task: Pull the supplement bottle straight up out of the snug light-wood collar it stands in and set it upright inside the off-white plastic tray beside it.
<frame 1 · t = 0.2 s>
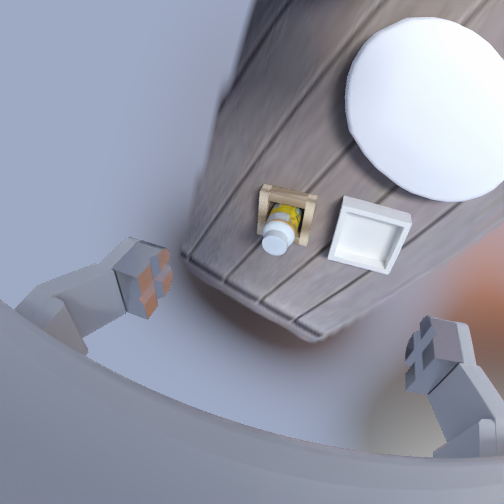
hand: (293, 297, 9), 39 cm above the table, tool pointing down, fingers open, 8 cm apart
collar: (287, 211, 55), on the table
plate: (438, 107, 34), on the table
tray: (368, 232, 52), on the table
supplement bottle: (287, 211, 55), resting in collar
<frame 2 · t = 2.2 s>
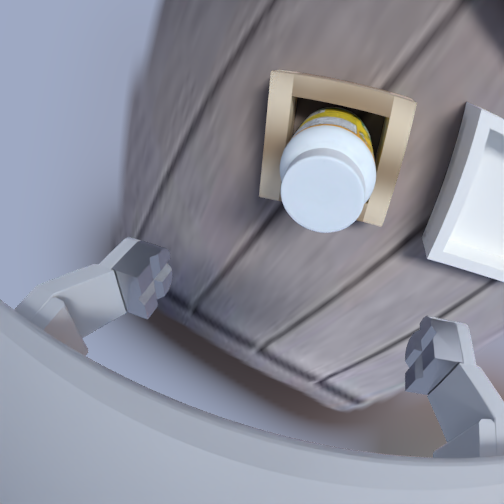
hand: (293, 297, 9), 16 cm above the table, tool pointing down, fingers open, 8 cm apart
collar: (335, 141, 21), on the table
tray: (503, 197, 18), on the table
supplement bottle: (335, 140, 21), resting in collar
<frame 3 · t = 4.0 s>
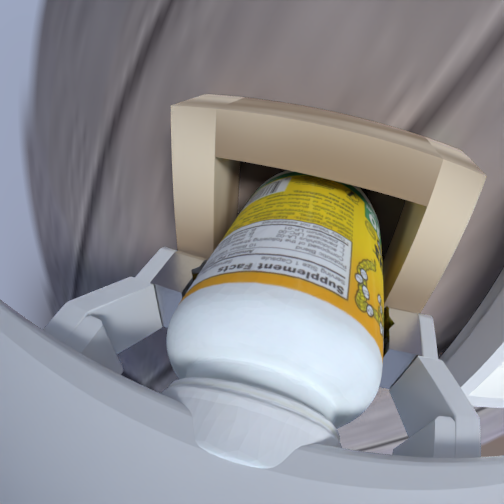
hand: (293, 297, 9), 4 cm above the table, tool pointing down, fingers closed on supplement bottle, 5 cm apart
collar: (313, 227, 12), on the table
supplement bottle: (314, 225, 12), resting in collar, touching gripper
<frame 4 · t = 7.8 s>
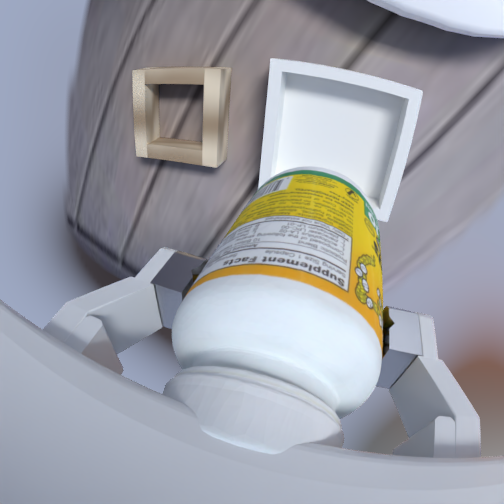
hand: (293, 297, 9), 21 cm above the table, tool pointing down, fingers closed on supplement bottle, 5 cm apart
collar: (185, 110, 28), on the table
tray: (337, 133, 25), on the table
supplement bottle: (314, 223, 13), point 16 cm above the table, touching gripper
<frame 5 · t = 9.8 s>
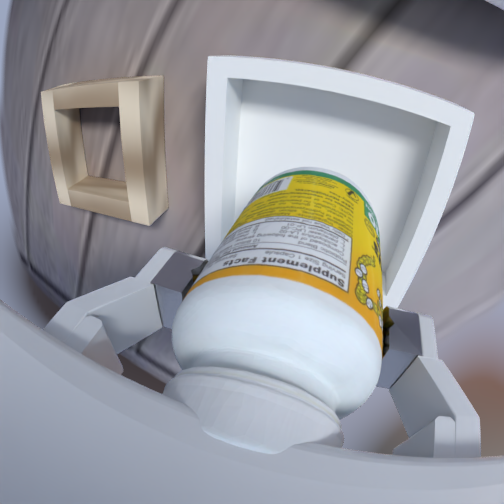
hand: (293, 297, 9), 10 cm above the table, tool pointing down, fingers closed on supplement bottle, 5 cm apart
collar: (111, 141, 19), on the table
tray: (327, 174, 16), on the table
supplement bottle: (314, 223, 13), point 5 cm above the table, touching gripper
when the fingers open (6 cm above the table, at t = 11.5 s): supplement bottle stays where it is, resting on tray.
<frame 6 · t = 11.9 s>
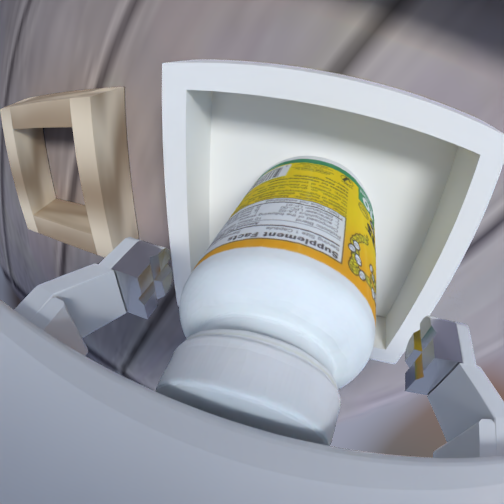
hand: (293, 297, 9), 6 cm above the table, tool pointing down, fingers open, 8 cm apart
collar: (75, 162, 17), on the table
tray: (319, 205, 14), on the table
supplement bottle: (312, 210, 13), point 1 cm above the table, touching tray
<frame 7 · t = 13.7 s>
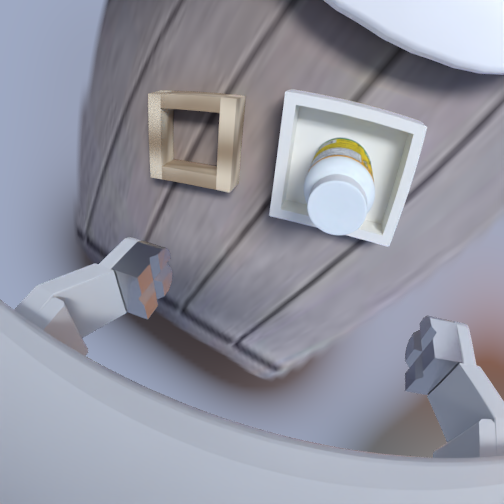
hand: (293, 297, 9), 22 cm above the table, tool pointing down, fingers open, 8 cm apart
collar: (199, 135, 30), on the table
tray: (345, 162, 27), on the table
supplement bottle: (342, 163, 27), point 1 cm above the table, touching tray
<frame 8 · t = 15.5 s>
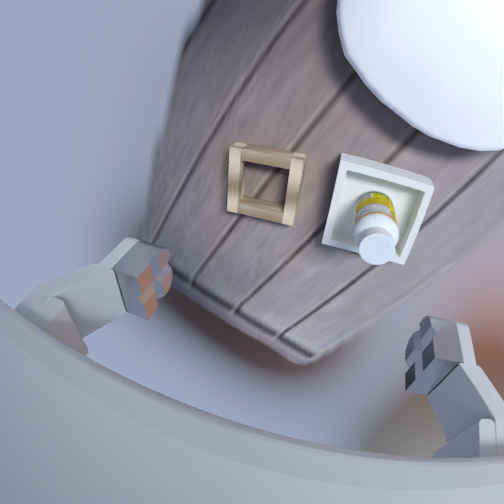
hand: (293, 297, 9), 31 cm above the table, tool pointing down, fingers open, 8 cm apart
collar: (267, 180, 41), on the table
plate: (453, 36, 22), on the table
tray: (375, 205, 38), on the table
supplement bottle: (374, 207, 38), point 1 cm above the table, touching tray
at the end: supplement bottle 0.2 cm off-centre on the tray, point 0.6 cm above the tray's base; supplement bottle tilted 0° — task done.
